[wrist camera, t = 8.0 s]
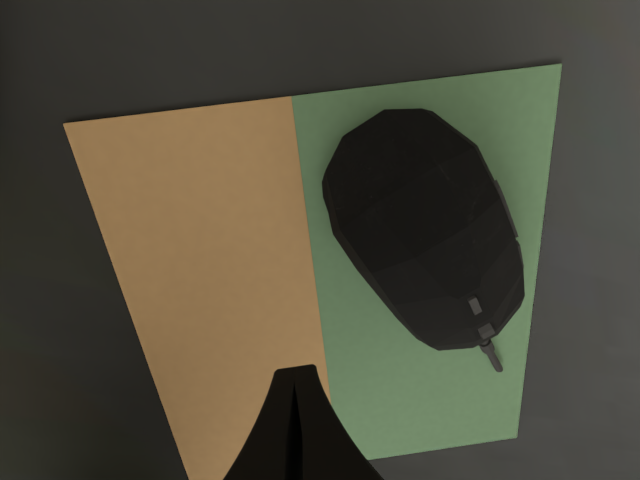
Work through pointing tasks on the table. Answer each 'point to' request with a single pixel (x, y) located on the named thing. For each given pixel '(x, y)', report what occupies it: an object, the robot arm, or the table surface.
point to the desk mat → (303, 263)
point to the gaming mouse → (427, 228)
